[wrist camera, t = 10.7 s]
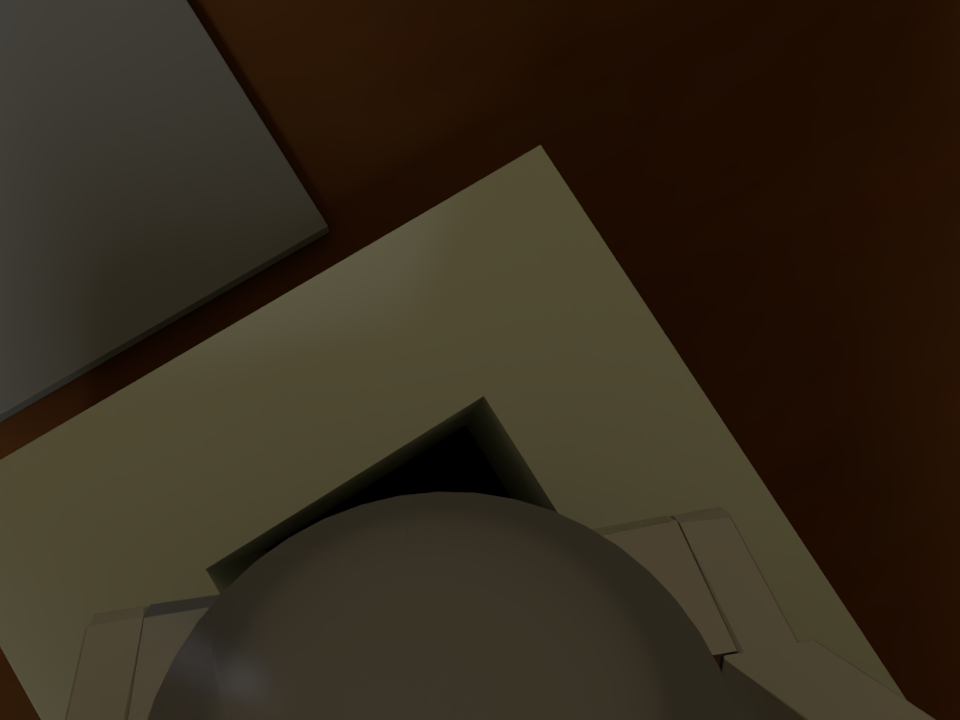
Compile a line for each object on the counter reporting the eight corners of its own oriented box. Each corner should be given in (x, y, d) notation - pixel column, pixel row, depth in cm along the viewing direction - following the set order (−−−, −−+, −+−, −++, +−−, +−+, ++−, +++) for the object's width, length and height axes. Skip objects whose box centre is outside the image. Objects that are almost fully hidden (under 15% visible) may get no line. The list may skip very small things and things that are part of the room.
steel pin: (559, 631, 14) (871, 901, 4) (395, 741, 14) (337, 1308, 4) (458, 467, 15) (539, 381, 5) (293, 570, 14) (11, 709, 4)
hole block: (785, 667, 18) (926, 730, 13) (338, 984, 16) (304, 1192, 11) (507, 239, 19) (540, 145, 14) (63, 504, 17) (-78, 505, 12)
